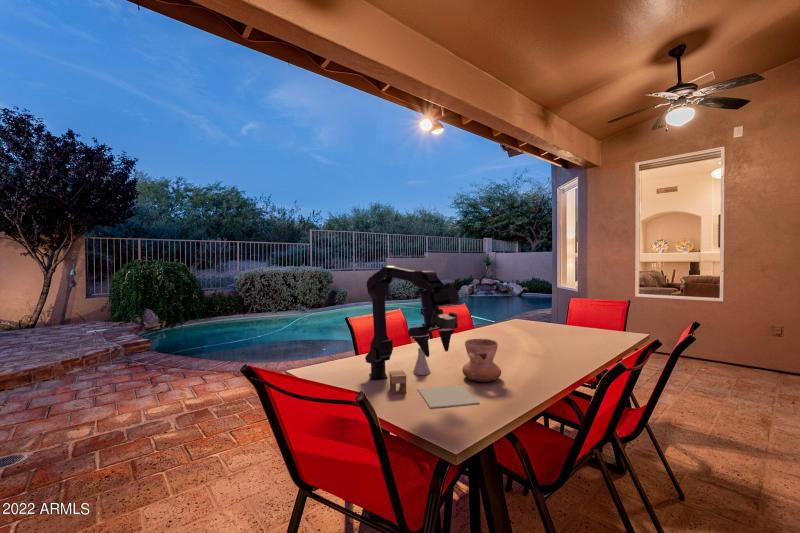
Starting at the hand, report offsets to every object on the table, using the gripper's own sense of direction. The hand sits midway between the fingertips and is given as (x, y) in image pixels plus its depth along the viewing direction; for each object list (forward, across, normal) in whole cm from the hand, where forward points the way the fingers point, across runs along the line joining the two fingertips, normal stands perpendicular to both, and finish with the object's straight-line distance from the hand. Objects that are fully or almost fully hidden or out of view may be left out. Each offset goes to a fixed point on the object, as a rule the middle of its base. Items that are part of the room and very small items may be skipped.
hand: (437, 354), depth 112 cm
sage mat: (+14, +2, +1) cm, 14 cm away
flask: (+11, +14, +24) cm, 29 cm away
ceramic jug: (+14, +26, +3) cm, 30 cm away
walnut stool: (+12, -6, +16) cm, 21 cm away
